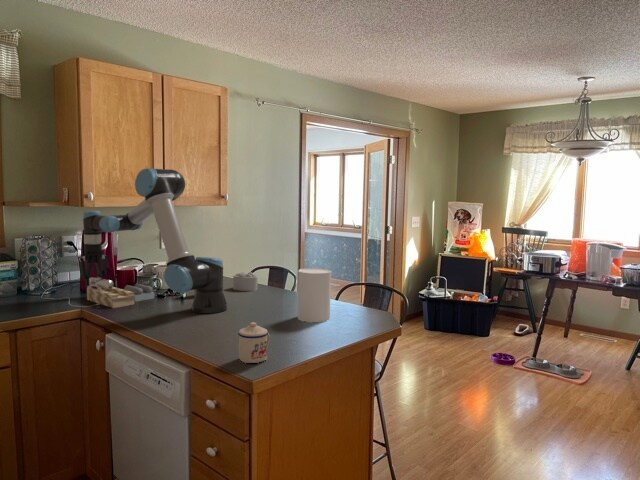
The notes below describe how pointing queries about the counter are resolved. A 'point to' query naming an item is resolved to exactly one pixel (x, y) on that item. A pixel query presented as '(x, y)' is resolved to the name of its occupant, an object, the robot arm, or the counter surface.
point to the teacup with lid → (253, 343)
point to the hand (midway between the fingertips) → (94, 291)
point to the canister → (314, 294)
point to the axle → (101, 283)
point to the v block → (141, 292)
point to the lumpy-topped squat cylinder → (245, 282)
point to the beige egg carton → (111, 297)
